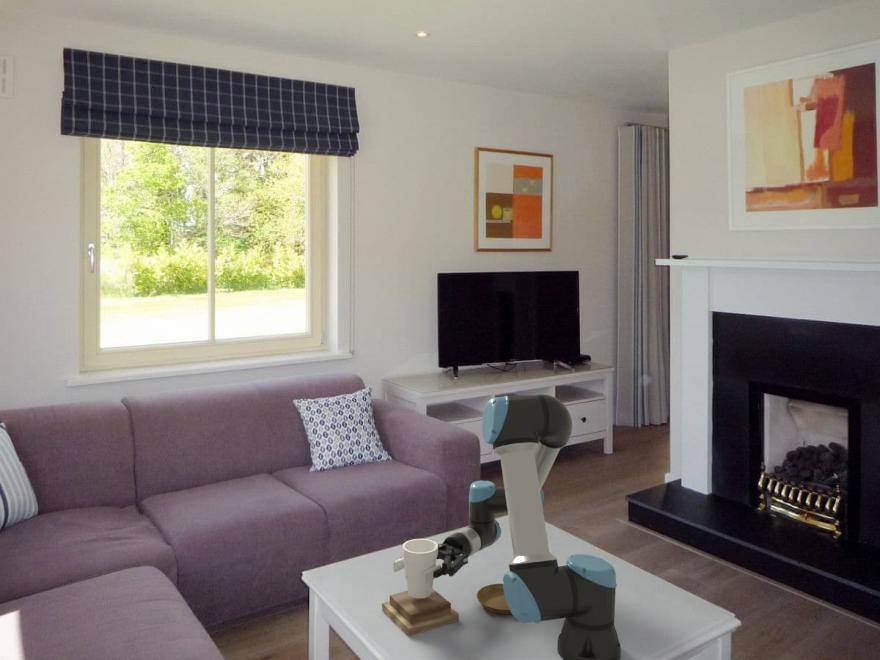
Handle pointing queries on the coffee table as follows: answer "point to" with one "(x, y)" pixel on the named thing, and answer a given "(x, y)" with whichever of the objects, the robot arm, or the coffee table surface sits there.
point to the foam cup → (419, 565)
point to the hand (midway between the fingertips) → (409, 572)
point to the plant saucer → (493, 598)
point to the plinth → (421, 624)
